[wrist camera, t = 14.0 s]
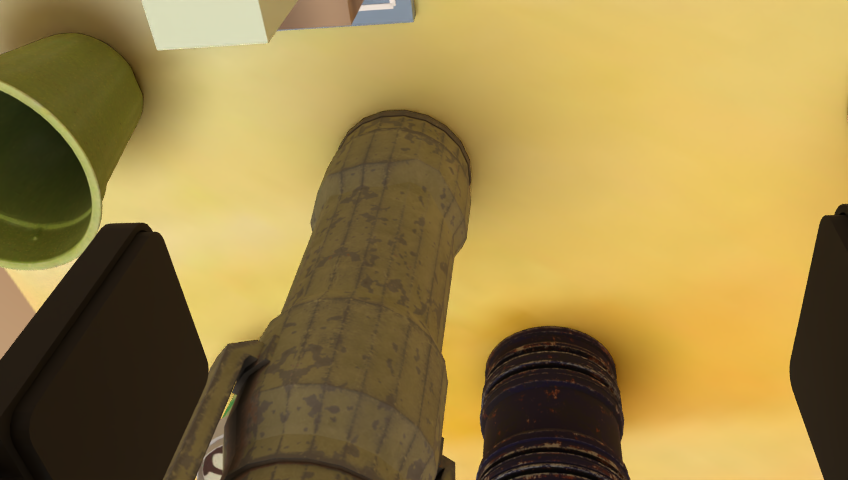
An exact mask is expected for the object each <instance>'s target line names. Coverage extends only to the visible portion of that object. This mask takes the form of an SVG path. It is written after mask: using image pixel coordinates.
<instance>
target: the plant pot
mask: <svg viewBox="0 0 848 480" xmlns="http://www.w3.org/2000/svg"><path fill="white" fill-rule="evenodd" d="M142 108H143V97H142V92H141V90H140V88H139V86H138V84H137V81H136V79H135V76H134V74H133V71H132V69H131V67H130V66H129V64H128V63H127V62H126V61H125V60H124V58H123V57H122V56H121V55H119V54H118V53H117V52H116V51H115V50H114V49H112V48H111V47H109V46H108V45H107V44H105V43H103V42H102V41H100V40H97V39H95V38H93V37H90V36H87V35H84V34H78V33H64V34H57V35H53V36H49V37H47V38H44V39H41V40H38V41H36V42H33V43H30V44H28V45H25V46H23V47H20V48H17V49H15V50H12V51H9V52H6V53H4V54H1V55H0V267H3V268H8V269H14V270H44V269H50V268H54V267H57V266H60V265H63V264H66V263H68V262H70V261H72V260H74V259H76V258H77V257H78V256H80V255H81V254H82V253H83V252H84V250H85V249H86V248H87V246H88V245H89V244H90V242H91V241H92V240H93V239H94V237H95V236H96V234H97V232H98V229H99V226H100V222H101V217H102V200H103V198H104V195H105V191H106V185H107V183H108V181H109V179H110V177H111V175H112V173H113V171H114V169H115V167H116V165H117V163H118V161H119V159H120V157H121V155H122V153H123V151H124V149H125V147H126V145H127V143H128V141H129V139H130V137H131V135H132V133H133V131H134V129H135V128H136V126H137V123H138V121H139V119H140V117H141V113H142Z"/></svg>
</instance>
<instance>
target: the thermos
mask: <svg viewBox="0 0 848 480" xmlns="http://www.w3.org/2000/svg"><path fill="white" fill-rule="evenodd" d="M470 183H471V171H470V161H469V158H468V155H467V153H466V151H465V149H464V147H463V145H462V143H461V141H460V140H459V139H458V138H457V137H456V136H455V135H454V134H453V133H452V132H451V131H450V130H449V128H448V127H447V126H445V125H443V124H442V123H440V122H438V121H436V120H434V119H433V118H431V117H429V116H427V115H424V114H419V113H415V112H411V111H407V110H399V111H383V112H380V113H377V114H375V115H372V116H369V117H367V118H364V119H362V120H361V121H360V122H359V123H358V124H356V125H355V126H354V127H353V128H351V129H350V130H349V131H348V132H347V134H346V136H345V138H344V139H343V141H342V143H341V145H340V146H339V148H338V151H337V153H336V154H335V156H334V158H333V160H332V161H331V163H330V165H329V166H328V168H327V171H326V173H325V176H324V178H323V181H322V183H321V186H320V188H319V190H318V193H317V197H316V201H315V206H314V210H313V214H312V219H311V228H312V235H311V237H310V240H309V243H308V245H307V248H306V250H305V253H304V255H303V258H302V261H301V263H300V266H299V268H298V271H297V273H296V276H295V279H294V281H293V284H292V286H291V289H290V291H289V294H288V297H287V299H286V302H285V304H284V307H283V309H282V312H281V314H280V315H279V316H278V317H276V318H275V319H273V320H272V321H271V322H270V324H269V325H268V327H267V328H266V330H265V332H264V333H263V335H262V336H261V338H260V340H259V341H258V340H253V341H246V342H238V343H231V344H228V345H227V346H226V347H225V348H224V349H223V351H222V352H221V353H220V354H219V355H218V357H217V358H216V360H215V362H214V363H213V365H212V367H211V368H210V371H209V373H208V380H207V383H206V386H205V388H204V390H203V393H202V395H201V397H200V399H199V401H198V404H197V406H196V408H195V410H194V412H193V415H192V417H191V419H190V421H189V423H188V426H187V428H186V430H185V432H184V434H183V437H182V439H181V441H180V443H179V445H178V448H177V450H176V452H175V454H174V456H173V458H172V461H171V463H170V465H169V467H168V469H167V472H166V474H165V476H164V478H163V480H195V478H196V476H197V473H198V471H199V468H200V466H201V464H202V461H203V459H204V456H205V454H206V452H207V449H208V447H209V445H210V442H211V440H212V437H213V435H214V433H215V430H216V428H217V425H218V423H219V421H220V418H221V416H222V413H223V411H224V409H225V406H226V404H227V401H228V399H229V397H230V394H231V392H232V393H234V394H236V395H237V396H236V398H235V401H234V403H233V406H232V408H231V411H230V413H229V416H228V418H227V421H226V423H225V426H224V436H223V473H222V476H221V479H220V480H455V462H453V461H452V460H450V459H448V458H447V457H445V456H444V455H442V450H443V442H444V438H443V437H441V436H442V428H443V419H444V411H445V403H446V394H447V386H448V380H447V373H446V366H445V360H444V358H443V356H442V354H441V352H442V344H443V337H444V330H445V322H446V315H447V307H448V300H449V293H450V285H451V278H452V270H453V263H454V257H455V256H456V254H457V253H458V252H459V251H460V249H461V248H462V247H463V245H464V243H465V241H466V239H467V230H468V222H469V214H470V205H471V196H470ZM236 381H237V382H236ZM235 382H236V384H235ZM234 385H235V386H234ZM233 387H234V389H233ZM232 390H233V391H232Z"/></svg>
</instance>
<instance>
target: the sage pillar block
mask: <svg viewBox="0 0 848 480" xmlns="http://www.w3.org/2000/svg"><path fill="white" fill-rule="evenodd" d="M141 1H142V4H143V8H144V11H145V14H146V17H147V20H148V23H149V26H150V30H151V33H152V36H153V39H154V42H155V45H156V48H157V50H171V49H186V48H201V47H216V46H231V45H246V44H261V43H269V41H270V40H271V38H272V37H273V35H274V34H275V33H276V31H277V30H278V28H279V27H280V25H281V24H282V22H283V21H284V20H285V18H286V17H287V15H288V14H289V12H290V11H291V10H292V8H293V7H294V5H295V4H296V2H297V1H298V0H141Z"/></svg>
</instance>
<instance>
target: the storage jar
mask: <svg viewBox="0 0 848 480" xmlns="http://www.w3.org/2000/svg"><path fill="white" fill-rule="evenodd" d="M616 379H617V376H616V369H615V364H614V361H613V359H612V357H611V355H610V354H609V352H608V350H607V349H606V348H605V347H604V346H603V345H602V344H601V343H599V342H598V341H597V340H595V339H594V338H592V337H590V336H589V335H587V334H585V333H582V332H579V331H577V330H573V329H569V328H564V327H556V326H543V327H534V328H530V329H526V330H522V331H520V332H517V333H515V334H513V335H511V336H509V337H507V338H506V339H504V340H503V341H502V342H500V343H499V344H498V345H497V346H496V347H495V348H494V350H493V351H492V353H491V354H490V356H489V358H488V361H487V364H486V371H485V385H484V388H483V393H482V405H481V408H482V409H481V414H480V425H481V432H482V435H483V439H484V449H483V459H482V461H481V463H480V466H479V470H478V473H477V476H476V480H630V478H629V475H628V471H627V469H626V466H625V464H624V463H623V460H622V451H621V439H622V436H623V428H624V417H623V412H622V404H621V397H620V391H619V388H618V386H617V381H616Z"/></svg>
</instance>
